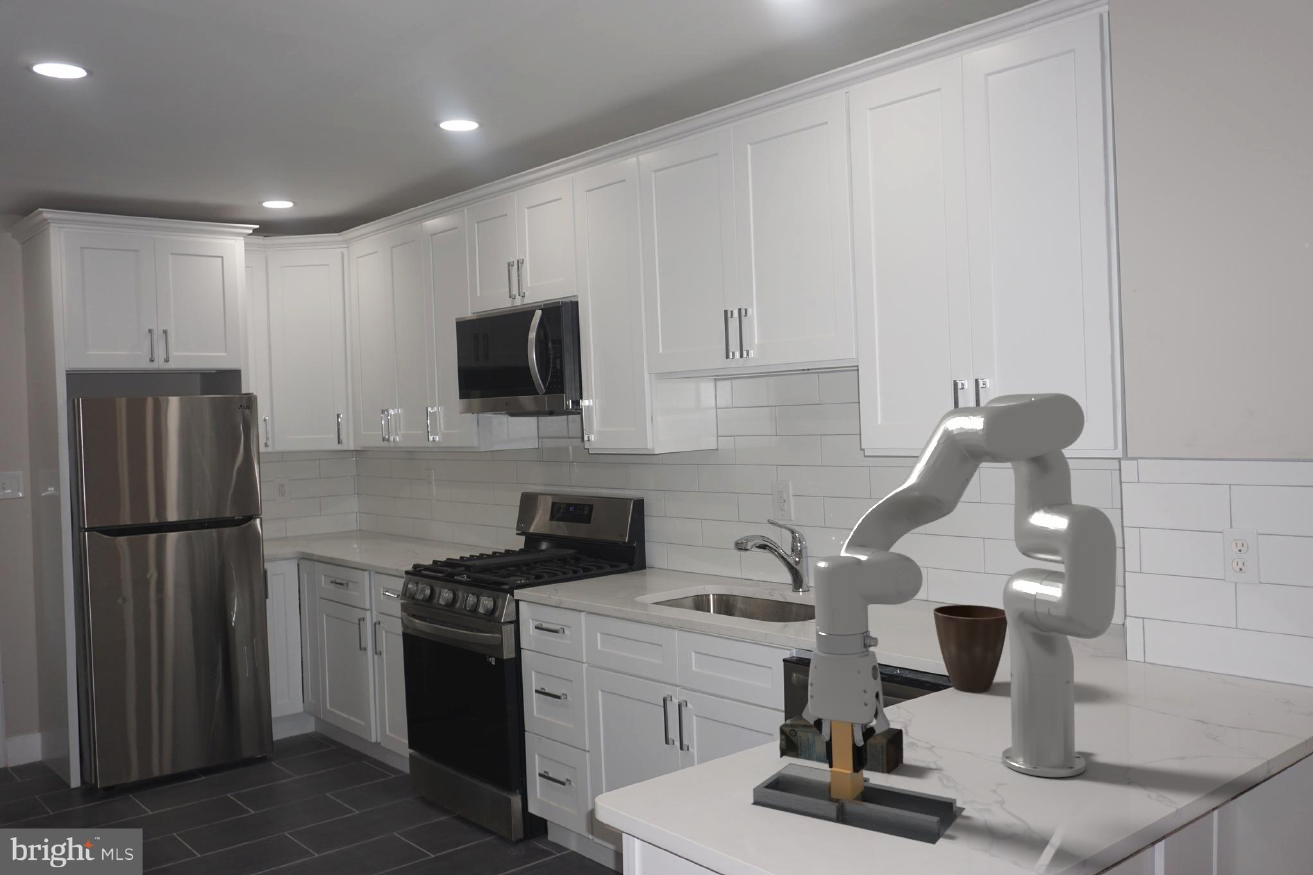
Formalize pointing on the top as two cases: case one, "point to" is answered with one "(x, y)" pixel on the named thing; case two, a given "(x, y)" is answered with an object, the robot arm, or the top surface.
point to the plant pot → (971, 644)
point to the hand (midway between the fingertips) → (846, 766)
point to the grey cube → (818, 785)
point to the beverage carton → (809, 745)
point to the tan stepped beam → (844, 763)
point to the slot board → (869, 809)
